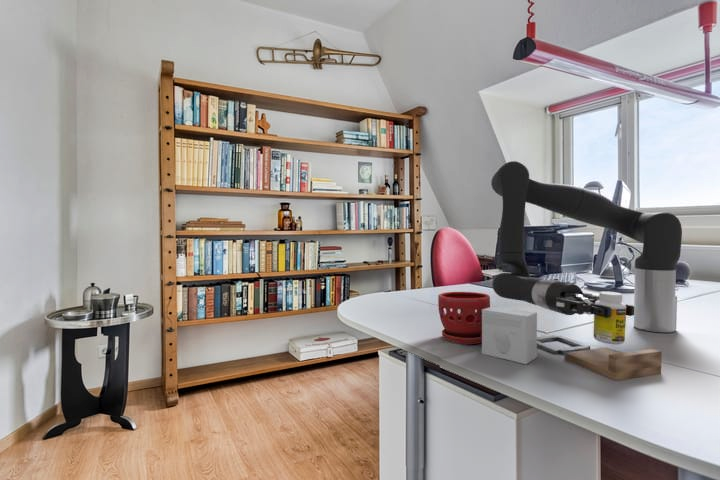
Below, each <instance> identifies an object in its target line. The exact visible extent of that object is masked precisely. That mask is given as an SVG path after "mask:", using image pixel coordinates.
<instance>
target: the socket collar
mask: <svg viewBox="0 0 720 480" xmlns="http://www.w3.org/2000/svg"><path fill="white" fill-rule="evenodd" d="M552 341H553V342H554V341H558V342H559V341H560V342H562V343H565V344H568V345H569V346H570V345H571V347H563V348H562V347H561V348H556V347H553V346H552V345H549V344H546V343H547V342H552ZM544 342H546V343H544ZM537 347H538V348H540V349H542V350H544V351H547V352H550V353H551V354H554V355H557V354H561V355H565V353H567V352H575V351H582V350H590V349H591V345H588V344H585V343H583V342H579V341H577V340H573V339H571V338H568V337H565V336H562V335H545V336H537Z"/></svg>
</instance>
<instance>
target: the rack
mask: <svg viewBox="0 0 720 480" xmlns="http://www.w3.org/2000/svg"><path fill="white" fill-rule="evenodd" d="M564 361H568V362H571V363H573V364H575V365H577V366H580V367H582V368H584V369H586V370H589V371H591V372H594V373H596V374H599V375H601V376H604V377H605V378H608V379H611V380H613V381H620V380H621V381H622V380H627V379H633V378H641V377H646V376H652V375H653V376H654V375H660V374H662V350H659V349H655V348H649V349H642V350H635V351H628V352H621V351H618V350H615V349H612V348H609V347H599V348H590V350H582V351H575V352H567V353H565V354H564Z"/></svg>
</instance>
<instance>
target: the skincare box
mask: <svg viewBox="0 0 720 480" xmlns="http://www.w3.org/2000/svg"><path fill="white" fill-rule="evenodd" d="M537 328H538V312H537V311H535V312H534V311H528V310H521V309H516V308H515V309H514V308H508V307H500V306H495V305H494V306H490V307H489V308H486V309H482V342H481V354H482V355H485V356H490V357H494V358H498V359H499V358H500V359H502V360H508V361H511V362H515V363H518V364H519V363H520V364H523V365H527V364H529V363H531V362H532V361H533V360H535V359H537V356H538V355H537V352H538V349H537V337H538V336H537V335H538V333H537V332H538V331H537V330H538V329H537Z"/></svg>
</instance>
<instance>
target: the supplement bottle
mask: <svg viewBox="0 0 720 480" xmlns="http://www.w3.org/2000/svg"><path fill="white" fill-rule="evenodd" d="M598 296H599V299H600V300H598V301H596V302H595V304H599V305H603V306H608V307H610V308H611V317H610V318H605V317H601V316H598V315H594V314H593V338H594V340H596V341H597V342H599V343H604V344H609V345H622V344H624V343H625V340H626V326H627V325H626V323H627V321H626V319H627V315H626V305H625V304H626V303H624V302H623V294H622V293H621V292H616V291H600V292H599V295H598Z"/></svg>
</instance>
